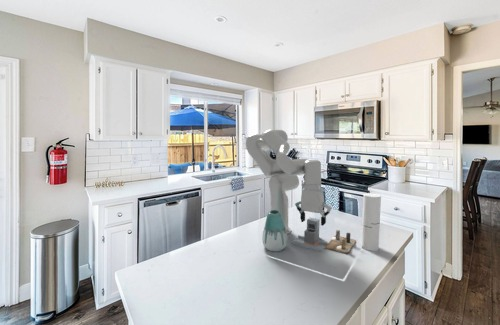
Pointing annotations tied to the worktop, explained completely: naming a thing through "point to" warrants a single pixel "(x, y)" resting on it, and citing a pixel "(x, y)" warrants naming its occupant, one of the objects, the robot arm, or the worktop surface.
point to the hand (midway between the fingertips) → (312, 222)
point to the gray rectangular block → (313, 224)
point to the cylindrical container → (371, 221)
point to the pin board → (333, 246)
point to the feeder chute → (300, 242)
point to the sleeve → (311, 236)
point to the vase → (274, 232)
